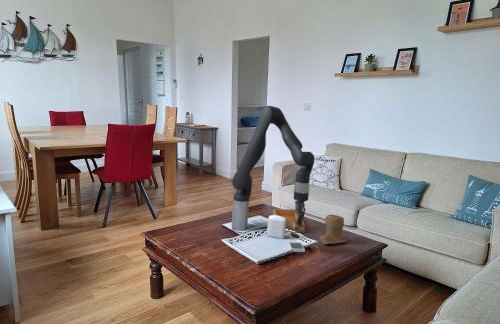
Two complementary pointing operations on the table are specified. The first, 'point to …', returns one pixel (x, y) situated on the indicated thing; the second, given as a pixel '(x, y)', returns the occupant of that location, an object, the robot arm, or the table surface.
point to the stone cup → (333, 230)
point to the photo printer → (276, 226)
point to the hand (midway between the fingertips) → (298, 222)
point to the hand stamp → (298, 227)
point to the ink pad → (296, 247)
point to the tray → (288, 218)
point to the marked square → (317, 248)
